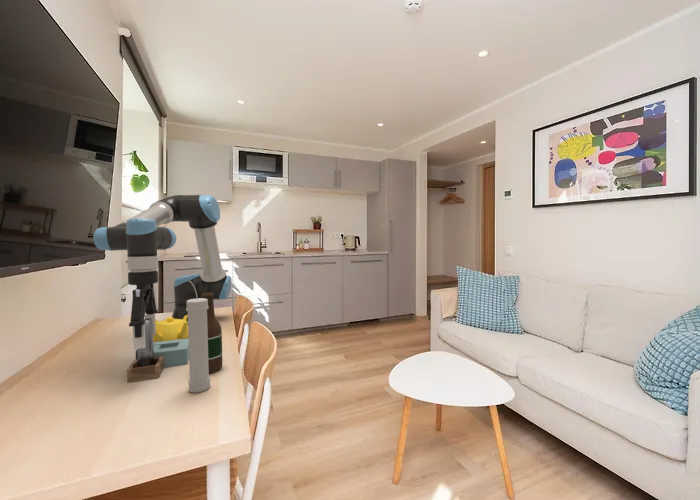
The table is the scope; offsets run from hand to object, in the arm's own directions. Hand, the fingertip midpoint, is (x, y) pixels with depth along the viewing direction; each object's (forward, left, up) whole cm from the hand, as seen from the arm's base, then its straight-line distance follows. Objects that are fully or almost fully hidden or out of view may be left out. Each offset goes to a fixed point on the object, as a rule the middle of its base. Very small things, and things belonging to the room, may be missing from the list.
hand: (145, 341), depth 95 cm
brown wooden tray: (0, 0, -10) cm, 10 cm away
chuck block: (-11, +4, -10) cm, 15 cm away
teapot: (-34, +2, -10) cm, 35 cm away
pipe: (+16, +16, -10) cm, 25 cm away
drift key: (-15, -1, -10) cm, 18 cm away
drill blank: (0, 0, -10) cm, 10 cm away
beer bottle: (+3, +18, -10) cm, 21 cm away
